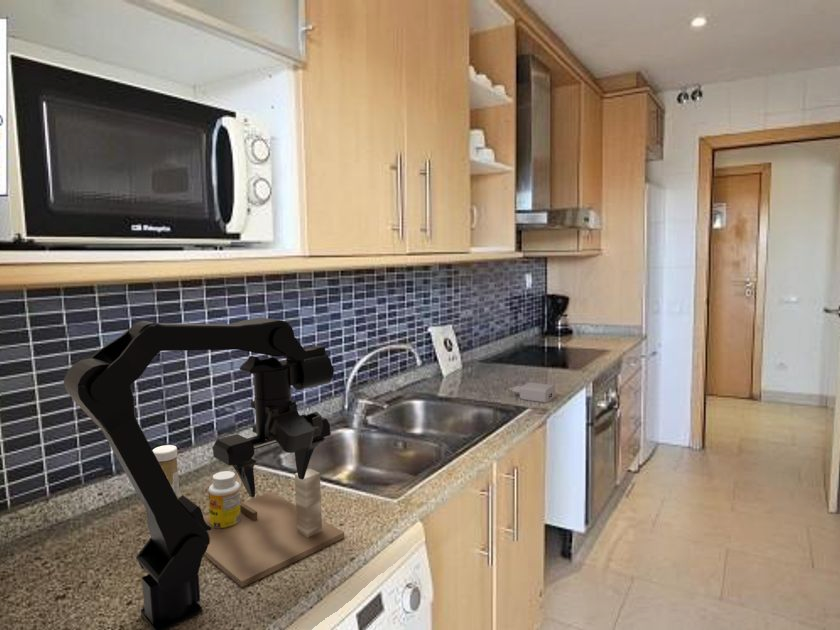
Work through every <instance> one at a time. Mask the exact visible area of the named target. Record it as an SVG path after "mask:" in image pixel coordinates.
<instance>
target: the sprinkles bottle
mask: <svg viewBox="0 0 840 630" xmlns="http://www.w3.org/2000/svg"><path fill="white" fill-rule="evenodd" d="M152 451H153V452H154V454H155V456H156V458H157V460H158V462H159V464H160V466H161V468H162V470H163V471H164V473H165V475H166V477H167V479H168V481H169V483H170V485H171V487H172V488H173V490H174V492H175V494H176V496H177V498H178V499H179V498H180V482H179V470H178V447H177V446H176V445H173V444H165V445H161V446H157V447H155V448H153V449H152Z"/></svg>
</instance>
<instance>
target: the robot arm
mask: <svg viewBox="0 0 840 630" xmlns="http://www.w3.org/2000/svg"><path fill="white" fill-rule="evenodd" d="M222 350H223V351H224V350H225V351H226V350H227V351H229V350H234V351H235V350H236V351H237V350H238V351H244V352H249V353H254V354H259V355H265V356H271V357H267V358H261V359H260V358H259V357H258V356H254V355H249V356H248V358H247V360H246V361H245V362H244V363H243V364H242V365H240V367H239V371H241V372H244V373H248V374H252V375H253V386H254V387H253V388H254V389H253V390H254V400H251V401H250V407H251V408H252V409H254V410H255V425H252V426H251V427H252V432H253V433H254V434H256V435H254V436H252V437H251V436H250V437H248V438H247V437H244V436H243V435H241V434H238V433H235V434H231V435H229V436H224V437H222V438H217V439H216V440H215V442H214V444H213V446H212V451H213V452H212V454H213V458H214V459H217V460H218V461H220V462H222V463H224V464H226V465H227V466H232V467H233V469H234V470H235V472H236V473H237V475H238V477H239V479H240V481H241V482H242V484H243V486H244V488H245V490H246V492H247V493H248V495H249V497H250V498H251V499H252V498H255V497H256V484H255V475H254V467H255V465H256V463H257V460H256V459H254V458H253V457H254V456H255V450H257V449H260V448H264V447H267V446H270V445H273V444H278V445H279V446H280V447H281V448H282V450H283V451H284V452H285V453H287V454H292V453H294V458H295V467H296V468H295V469H296V473H298V477H299V479H301V480H302V479H304V477H305V474H306V471H307V469H308V467H309V463H310V461H311V457H312V455H313V452H314V450H315V449H316V447H317V446H319V444H320V443H323V442H324V441H325V440H326V438H325V437H330V436H331V434H332V425H331V423H330V421H329V419H327V418H325V417H322V415H321V413H319V412H318V411H315V412H310V413H307V414H301V415H300V414H299V413H300V412H299V411H298V406H297V401H295V400H292V388H291V387H293V388H294V389H296V390H297V391H300V390H301V391H302V390H307V389H310V388H315V387H318V386H319V387H320V386H323V385H327V384H330V382H332V380H333V378H334V374H335V371H334V366H333V364H332V361H331V358H330V357H329V355H328V354H327V353H326V347H325V346H322V345H313V346H310V347H308V348H304V347H303V345H301V343H300V342H299V341H298V339H297V338H296V336H295V332H294V329H293V327H292V326H291V325H290V323H289V322H288V321H286V320H281V319H276V318H275V319H273V318H269V317H268V318H267V317H258V318H249V319H245V320H244V319H243V320H240V321H237V322H234V323H233V322H231V323H227V324H226V323H181V322H180V323H179V322H178V323H177V322H175V323H173V322H172V323H171V322H152V321H148V320H142V321H138V322H136V323H134V324H133V325H132V326H131V327H130V328H128V330H127V331H125V332H123V334H122V335H120V336H119V337H117V338H115V339H114V340H112V341H111V342H109V343H108V344H106V345H104V346H103V347H101V348H100V349H99V350H97V351H96V352H95V353H94V354H93V355H92V356H91V357H89V358H85V359H81V360H79V361H77V362H76V363H74V364H72V365H71V367H69V369H68V370H67V371H66V374H65V377H64V378H63V386H64V388H65V391H66V393H67V394H68V395H69V396H70V397H71V399H72V400H73V401H74V402H75V403H76V404H77V405H78V407H79V408H80V409H81V410H82V411H83V412H84V413H85V414H86V415H87V416H88V417H89V419H91V421H92V422H93V423H94V424H95V425H96V426H98V428H100V430H101V432H102V433H103V435H104V437H105V438H106V440H107V442H108V443H109V446H110V447H111V449H112V451H113V453H114V455H115V457H116V458H117V460H118V462H119V465H121V467H122V469H123V471H124V472H125V474H126V476H127V478H128V480H129V481H130V484H131V485H132V486H133V487H132V488H133V489H134V490H135V492H136V494H137V496H138V497H139V499H140V501H141V503H142V505H143V506H144V509H145V511H146V523H147V528H148V531H149V534H150V537H149V539H148V540H147V541H146V543H145V545H144V546H143V547H142V549H141V550H140V551H139V553H137V555H136V558H135V559H136V561H137V563H138V565H139V566H140V568H141V569H143V570H144V571H145V572H146V573H147V575H144V576H142V579H141V582H142V595H143V604H144V607H143V608H141V609H140V615H141V616H142V617H143V620H145V621H146V622H147V624H148V625H149V626H150V628H151V629H153V630H169V629H170V628H172V627H174V626H176V625H178V624H180V623H183V622H184V621H187V620H188V619H191V618H192V617H194V616H196V615H199V614H200V613H202V612H203V606H202V605H200V603H199V602H200V601H201V591H200V575H199V571H200V568H201V563H202V561H203V557H204V553H205V552H206V550H207V547H208V545H209V544H210V537H209V534H208V532H207V531H208V530H211V527H210V526H208V525H207V524H206V523H205V521H204V518H203V516H204V515H203V512H202V509H201V507H200V506H199V505H197V504H196V503H195V502H193V501H192V500H190V499H189V498H188V497H186V496H185V495H183V494H182V495H181V496H179V499H178V498H177V496H176V494H175V492H174V490H173V488H172V487H171V485H170V483H169V481H168V479H167V477H166V475H165V473H164V471H163V470H162V468H161V466H160V464H159V462H158V460H157V458H156V456H155V454H154V452H153V451H152V450H153V449H152V447H151V445H150V443H149V441H148V439H147V438H146V436H145V433H144V431H143V430H142V427H141V425H140V424H139V422H138V420H137V417H136V406H135V398H134V394H133V391H132V387H131V386H132V385H133V384H134V383H135V382H136V381H137V380H138V379H140V377H142V375H143V373H144V372H145V371H146V369H147V368H148V366H149V365H150V363H151V362H152V361H153V359H154V358H155V357H156V356H157V355H158V354H159V353H160V352H167V351H168V352H169V351H170V352H173V351H222ZM276 357H278V358H279V357H281V358H285V359H283V360H279V359H277V358H276Z"/></svg>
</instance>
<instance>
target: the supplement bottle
mask: <svg viewBox="0 0 840 630" xmlns="http://www.w3.org/2000/svg"><path fill="white" fill-rule="evenodd" d="M240 501H241V485H240V483H239V482H238V481H236V474H235V472H234V471H231V470H227V471H226V470H223V471H219V472H216V473H215V474H213V476H212V484H210V486H209V487H208V512H209V513H208V515H209V521H210V526H211V527H212V528H215V529H225V528H229V527H232V526H235V525H236V524H238V523H239V522H240V520H241V514H240V513H241V512H240Z"/></svg>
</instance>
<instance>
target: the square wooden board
mask: <svg viewBox="0 0 840 630" xmlns="http://www.w3.org/2000/svg"><path fill="white" fill-rule="evenodd" d="M294 488H295V504H294V503H293V502H291V501H289V500H287V499H286V498H284V497H282V496H281V495H279V494H277V493H275V492H273V491H269V492H267V493H264V494H261V495H258V496H255V497H253V498H252V497H251V498H250V499H247V500H245V501H241V500H240V512H241V513H240V514H241V520H240V522H239V523H238V524H236V525H235V526H232V527H229V528H225V529H215V528H212V527H211V526H210V521H209V514H207V515H206V514H205V515H203V518H204V521H205V523H206V524H207V525H208V526H210V527H211V530H208V531H207V532H208V534H209V537H210V544H209V545H208V547H207V550H206V552H205V553H204V555H203V557H204V556H205V557H206V559H208V560H210V562H211V563H212V564H214V565H215V566H216V567H217V568H218V569H219V570H221V571H222V572H223V573H224V574H225V575H226V576H228V577H229V578H230V579H231V580H232V581H234V582H235V583H236V584H237V585H239V587H240V588H244V587H246V586H247V585H250V584H252V583H255V582H256V581H259V580H261V579H262V578H264V577H267V576H268V575H270V574H273V573H274V572H277V571H278V570H281V569H283V568H285V567H287V566H289V565H291V564H293V563H295V562H297V561H300V560H301V559H303V558H306V557H307V556H310V555H311V554H314V553H316V552H319V551H320V550H322V549H324V548H326V547H328V546H330V545H332V544H334V543H337V542H338V541H340V540H342V539H344V538H345V532H344V531H343V530H341V529H339V528H337V527H335V526H334V525H332V524H330V523H329V522H326V521H325V520H323V515H322V491H321V490H322V488H321V472H318V471H316V470H314V469H312V468H307V471H306V474H305V477H304V479H302V480H301V479H299V477H298V473H297V472H296V473H294Z"/></svg>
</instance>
